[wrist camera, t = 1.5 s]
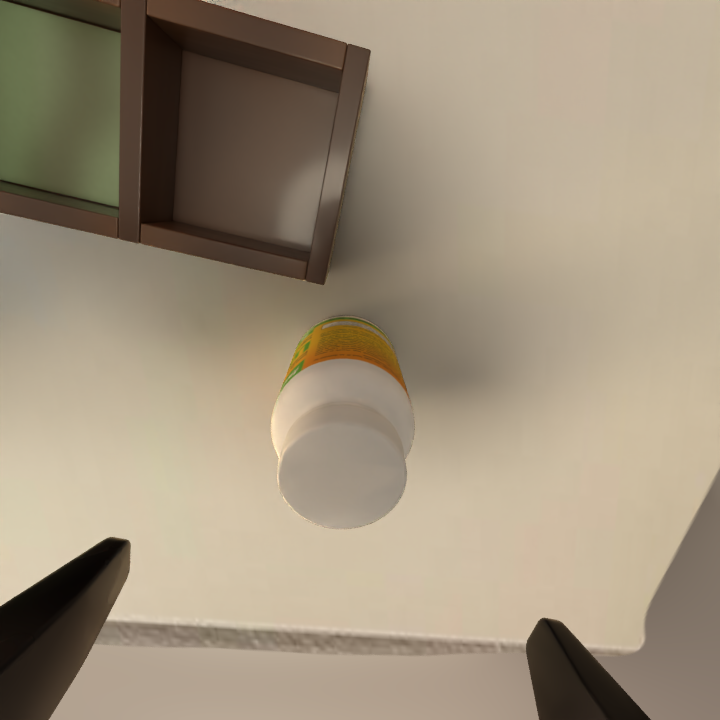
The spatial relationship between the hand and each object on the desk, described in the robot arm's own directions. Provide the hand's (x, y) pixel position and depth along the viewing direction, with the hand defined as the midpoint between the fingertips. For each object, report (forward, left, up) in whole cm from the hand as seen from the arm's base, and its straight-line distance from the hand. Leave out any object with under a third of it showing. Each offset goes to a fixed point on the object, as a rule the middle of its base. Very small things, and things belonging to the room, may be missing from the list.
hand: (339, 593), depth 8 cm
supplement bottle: (0, 0, -14) cm, 14 cm away
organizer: (-10, +9, -13) cm, 19 cm away
